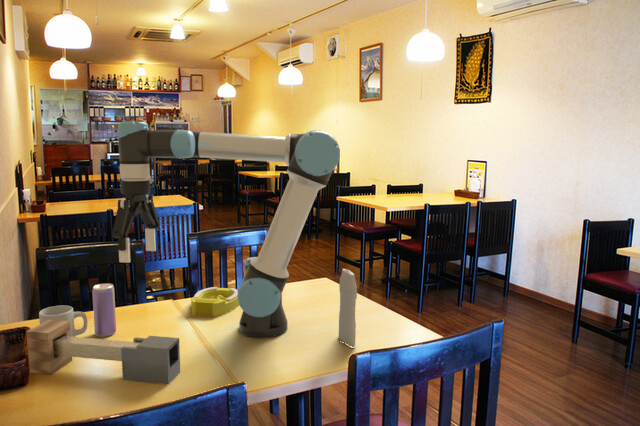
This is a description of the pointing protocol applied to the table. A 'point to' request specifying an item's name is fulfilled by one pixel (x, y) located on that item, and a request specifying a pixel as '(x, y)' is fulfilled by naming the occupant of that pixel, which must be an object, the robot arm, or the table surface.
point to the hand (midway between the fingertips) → (138, 256)
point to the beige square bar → (90, 347)
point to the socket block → (46, 347)
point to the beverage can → (104, 310)
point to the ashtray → (214, 301)
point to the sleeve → (151, 360)
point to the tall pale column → (347, 307)
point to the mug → (63, 317)
